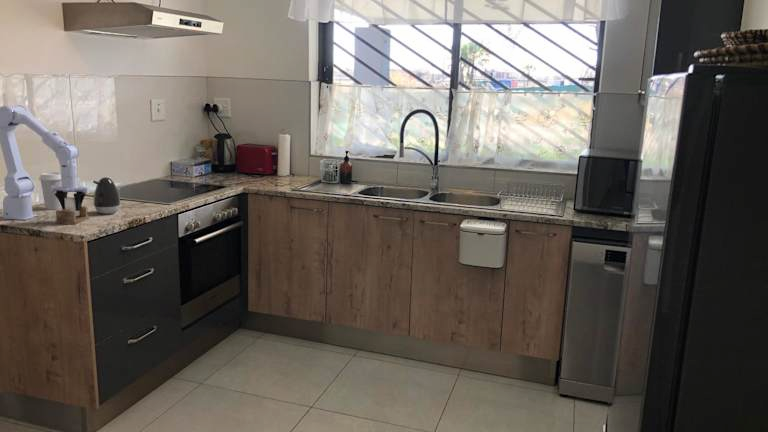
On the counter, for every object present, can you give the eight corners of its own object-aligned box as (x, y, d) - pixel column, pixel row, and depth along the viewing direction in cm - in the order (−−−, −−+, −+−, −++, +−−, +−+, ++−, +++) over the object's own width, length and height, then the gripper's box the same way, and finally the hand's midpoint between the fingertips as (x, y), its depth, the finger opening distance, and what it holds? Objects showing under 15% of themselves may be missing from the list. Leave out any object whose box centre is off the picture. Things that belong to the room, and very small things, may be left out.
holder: (54, 223, 233) (53, 209, 231) (70, 217, 243) (69, 203, 242) (75, 224, 232) (74, 210, 231) (89, 218, 243) (88, 204, 242)
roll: (63, 216, 235) (61, 198, 234) (68, 213, 240) (67, 196, 238) (76, 216, 235) (75, 199, 234) (81, 214, 240) (80, 196, 239)
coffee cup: (71, 208, 260) (68, 173, 257) (49, 211, 252) (46, 176, 249) (58, 205, 265) (55, 171, 261) (36, 208, 256) (33, 173, 253)
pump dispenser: (88, 213, 252) (86, 177, 249) (111, 209, 261) (109, 174, 258) (102, 216, 247) (100, 180, 244) (125, 212, 255) (123, 177, 252)
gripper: (44, 176, 230) (47, 211, 233) (82, 178, 230) (84, 213, 233) (55, 174, 237) (57, 207, 240) (91, 175, 237) (93, 209, 240)
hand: (71, 210), depth 237 cm, fingers closed on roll, 5 cm apart
